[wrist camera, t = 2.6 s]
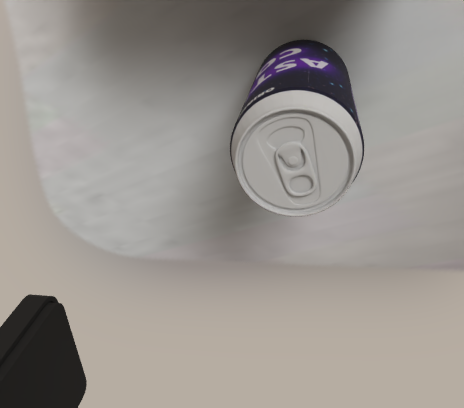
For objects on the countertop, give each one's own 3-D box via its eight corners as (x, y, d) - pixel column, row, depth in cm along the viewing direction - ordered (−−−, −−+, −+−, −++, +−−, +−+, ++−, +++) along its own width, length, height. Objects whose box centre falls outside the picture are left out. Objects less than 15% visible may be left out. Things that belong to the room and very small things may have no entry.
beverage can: (335, 22, 26) (347, 76, 16) (357, 111, 28) (381, 207, 18) (245, 55, 28) (203, 122, 18) (273, 136, 30) (251, 237, 20)
